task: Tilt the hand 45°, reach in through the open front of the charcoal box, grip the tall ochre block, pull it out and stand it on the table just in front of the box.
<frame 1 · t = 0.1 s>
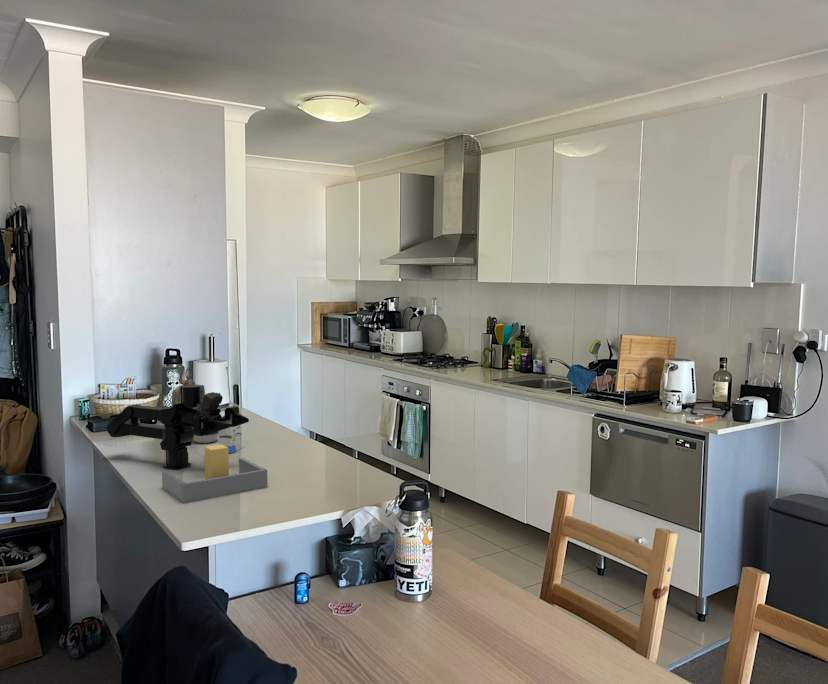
hand: (239, 423, 213), 17 cm above the table, fingers open, 9 cm apart
open box: (214, 490, 199), on the table
ink box: (230, 451, 246), on the table
ochre block: (217, 488, 198), point 1 cm above the table, touching open box
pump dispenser: (206, 442, 259), on the table
tabletop clock: (189, 429, 280), on the table
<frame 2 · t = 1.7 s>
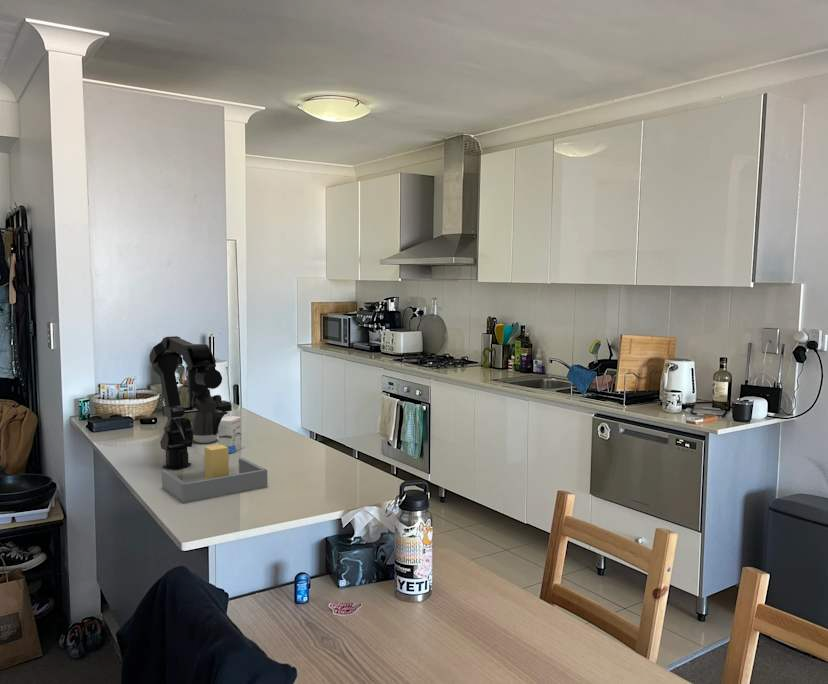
hand: (200, 437, 210), 13 cm above the table, fingers open, 9 cm apart
nothing on the table moved.
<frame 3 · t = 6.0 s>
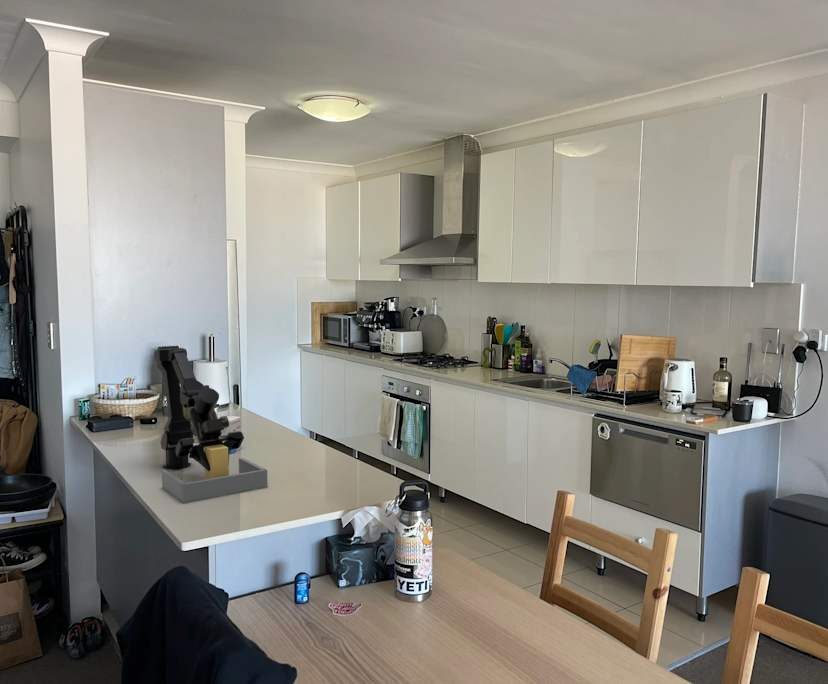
hand: (218, 468, 196), 7 cm above the table, fingers closed on ochre block, 5 cm apart
ochre block: (217, 488, 198), point 1 cm above the table, touching gripper, open box
everything else where it was.
when the fingers open (7 cm above the table, at t = 12.8 s): ochre block drops 1 cm, on the table.
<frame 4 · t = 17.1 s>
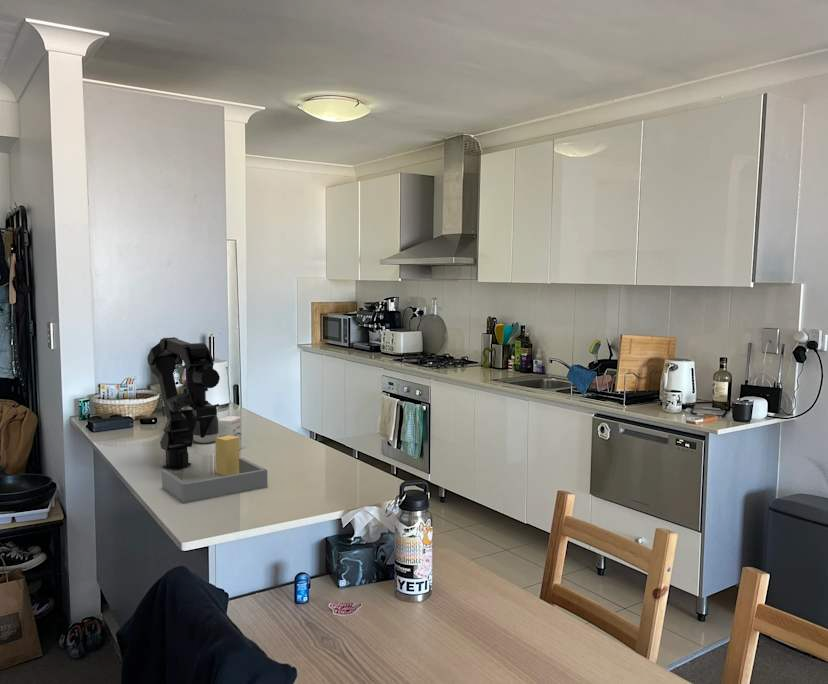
hand: (196, 434, 212), 13 cm above the table, fingers open, 9 cm apart
ochre block: (227, 475, 214), on the table
everything else where it was.
at the end: ochre block 0.1 cm from the target spot, on the table; ochre block tilted 0°; the gripper is holding nothing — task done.
